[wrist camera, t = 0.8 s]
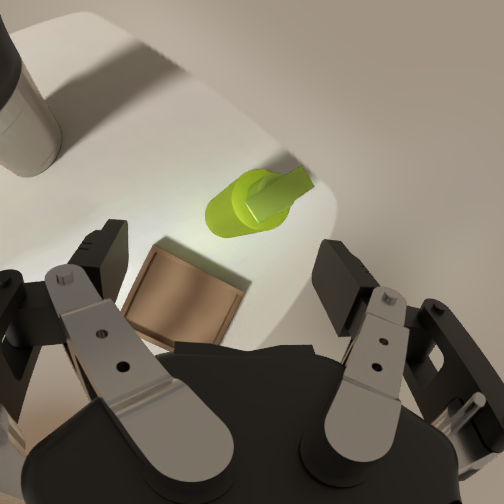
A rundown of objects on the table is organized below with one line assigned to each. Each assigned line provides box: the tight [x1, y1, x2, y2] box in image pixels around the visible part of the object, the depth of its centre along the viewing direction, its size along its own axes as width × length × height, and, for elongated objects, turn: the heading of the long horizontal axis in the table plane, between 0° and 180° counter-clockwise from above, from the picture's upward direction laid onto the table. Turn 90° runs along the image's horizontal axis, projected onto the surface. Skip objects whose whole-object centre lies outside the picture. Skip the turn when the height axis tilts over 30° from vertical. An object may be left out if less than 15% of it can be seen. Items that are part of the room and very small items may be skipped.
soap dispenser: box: [205, 165, 314, 238], centre depth 31 cm, size 6×7×20 cm
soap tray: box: [121, 245, 245, 352], centre depth 37 cm, size 13×11×2 cm
